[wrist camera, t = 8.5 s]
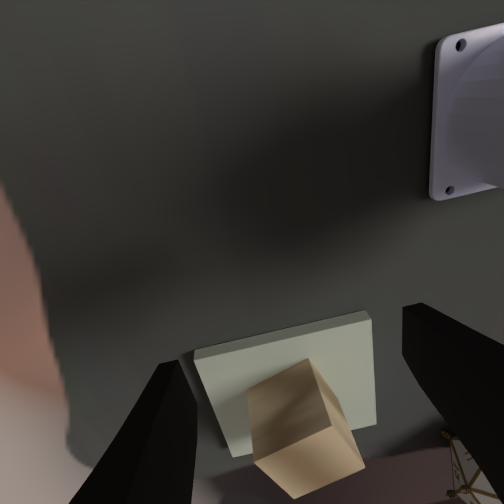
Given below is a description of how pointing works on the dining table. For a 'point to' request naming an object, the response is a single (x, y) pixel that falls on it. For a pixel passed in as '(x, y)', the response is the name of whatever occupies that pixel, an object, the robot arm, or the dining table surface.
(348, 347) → the sage tile
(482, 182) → the robot arm
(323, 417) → the maple block
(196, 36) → the dining table surface
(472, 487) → the game die
